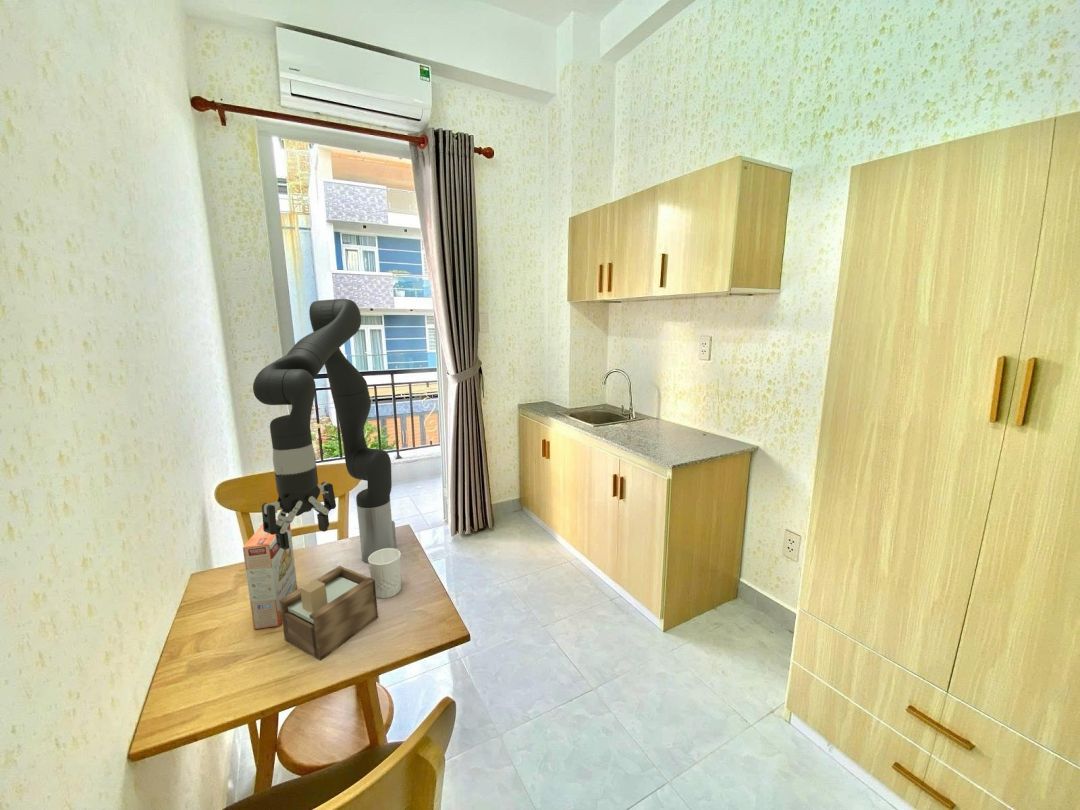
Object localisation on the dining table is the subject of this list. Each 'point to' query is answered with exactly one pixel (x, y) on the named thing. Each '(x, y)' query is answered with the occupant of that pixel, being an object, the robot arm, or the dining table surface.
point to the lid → (319, 596)
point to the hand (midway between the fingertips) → (304, 539)
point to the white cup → (386, 571)
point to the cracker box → (268, 576)
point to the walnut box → (331, 615)
